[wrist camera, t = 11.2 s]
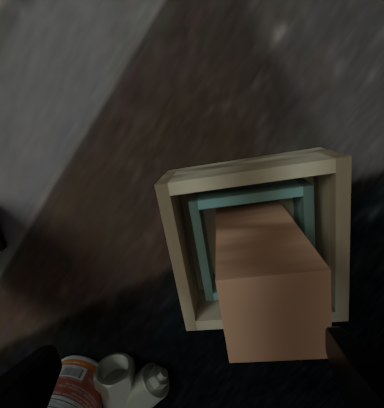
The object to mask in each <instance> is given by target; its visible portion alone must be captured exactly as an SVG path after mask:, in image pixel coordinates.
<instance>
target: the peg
mask: <svg viewBox="0 0 384 408" xmlns="http://www.w3.org/2000/svg"><path fill="white" fill-rule="evenodd" d="M215 282H216V288H217V294H218V299H219V305H220V311H221V317H222V323H223V328H224V334H225V340H226V346H227V352H228V358H229V363H241V362H263V361H284V360H306V359H327V358H328V357H327V354H326V349H325V330H326V328H327V327H332V313H331V269H330V268H329V267H328V265H327V264H326V263H325V261H324V260H323V259H322V257H321V256H320V255H319V253H318V252H317V251H316V249H315V248H314V247H313V245H312V244H311V243H310V241H309V240H308V239H307V237H306V236H305V235H304V233H303V232H302V231H301V229H300V228H299V227H298V225H297V224H296V223H295V221H294V220H293V219H292V217H291V216H290V215H289V213H288V212H287V211H286V209H285V208H284V207H283V205H282V204H281V203H280V201H279V200H274V201H266V202H259V203H252V204H244V205H237V206H229V207H222V208H216V264H215Z"/></svg>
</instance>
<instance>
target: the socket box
mask: <svg viewBox="0 0 384 408" xmlns="http://www.w3.org/2000/svg"><path fill="white" fill-rule="evenodd" d="M351 164H352V156H350V155H346V154H343V153H339V152H335V151H332V150H328V149H325V148H321V147H318V148H311V149H305V150H298V151H292V152H285V153H279V154H272V155H266V156H259V157H253V158H246V159H240V160H233V161H227V162H220V163H214V164H207V165H201V166H194V167H188V168H181V169H175V170H168V171H167V172H166V173H165V174H164V175H163V176H162V177H161V179H160V180H159V181H158V182H157V183H156V184H155V185H154V186H155V190H156V195H157V199H158V204H159V208H160V213H161V217H162V222H163V226H164V231H165V236H166V240H167V245H168V249H169V254H170V258H171V263H172V267H173V272H174V276H175V281H176V286H177V290H178V295H179V299H180V304H181V308H182V313H183V317H184V322H185V326H186V331H194V330H211V329H224V328H223V323H222V317H221V311H220V305H219V299H218V294H217V288H216V282H215V264H216V208H222V207H229V206H237V205H244V204H252V203H259V202H266V201H274V200H279V201H280V203H281V204H282V205H283V207H284V208H285V209H286V211H287V212H288V213H289V215H290V216H291V217H292V219H293V220H294V221H295V223H296V224H297V225H298V227H299V228H300V229H301V231H302V232H303V233H304V235H305V236H306V237H307V239H308V240H309V241H310V243H311V244H312V245H313V247H314V248H315V249H316V251H317V252H318V253H319V255H320V256H321V257H322V259H323V260H324V261H325V263H326V264H327V265H328V267H329V268H330V269H331V313H332V322H341V321H349V272H350V218H351Z"/></svg>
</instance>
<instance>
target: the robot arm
mask: <svg viewBox="0 0 384 408" xmlns="http://www.w3.org/2000/svg"><path fill="white" fill-rule="evenodd" d="M6 246H7V245H6V242H5V240H4V238H3V235H2V233H1V231H0V251H2V250H4V249H5V248H6ZM325 349H326V354H327V357H328V360H329V363H330V365H331V368H332V371H333V374H334V376H335V379H336V382H337V384H338V387H339V390H340V393H341V395H342V398H343V401H344V403H345V406H346V408H384V359H383V358H381V357H380V356H379V355H377V354H376V353H375V352H373V351H372V350H371V349H369V348H368V347H367V346H365V345H364V344H363V343H362V342H360V341H359V340H358V339H356V338H355V337H354V336H352V335H351V334H350V333H348V332H347V331H346V330H344V329H343V328H342V327H339V326H336V327H327V328H326V330H325ZM61 369H62V361H61V359H60V356H59V354H58V351H57V349H56V347H55V346H54V345H44V346H41V347H39V348H38V349H37V350H35V351H34V352H33V353H31V354H30V355H29V356H27V357H26V358H24V359H23V360H22V361H20V362H19V363H18V364H16V365H15V366H14V367H12V368H11V369H10V370H8V371H7V372H6V373H4V374H3V375H1V376H0V408H47V407H48V405H49V402H50V399H51V397H52V394H53V391H54V389H55V386H56V383H57V381H58V378H59V375H60V373H61Z"/></svg>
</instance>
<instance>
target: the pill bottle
mask: <svg viewBox="0 0 384 408" xmlns="http://www.w3.org/2000/svg"><path fill="white" fill-rule="evenodd" d="M61 361H62V369H61V373H60V375H59V378H58V381H57V383H56V386H55V389H54V391H53V394H52V397H51V399H50V402H49V405H48V407H47V408H101V407H102V404H103V402H102V398H101V394H100V393H99V392H98V391H97V390H96V389H95V385H94V381H93V377H94V374H95V371H96V368H97V366H98V364H99V363H98V362H97V361H95V360H93V359H91V358H89V357H86V356H81V355H72V356H68V357H65V358H63V359H62V360H61Z"/></svg>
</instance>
